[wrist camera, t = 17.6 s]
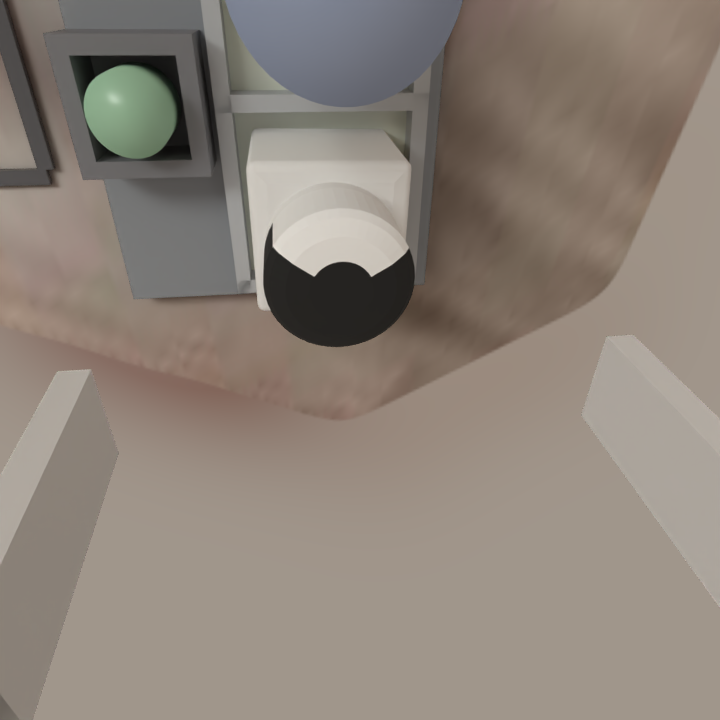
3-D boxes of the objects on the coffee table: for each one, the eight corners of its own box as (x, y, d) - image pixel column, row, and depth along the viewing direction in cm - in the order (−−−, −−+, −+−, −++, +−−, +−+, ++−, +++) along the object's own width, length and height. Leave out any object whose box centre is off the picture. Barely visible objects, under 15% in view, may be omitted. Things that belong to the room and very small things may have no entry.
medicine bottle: (379, 252, 33) (423, 363, 23) (260, 254, 32) (255, 372, 22) (385, 127, 29) (443, 198, 19) (250, 126, 28) (238, 200, 18)
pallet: (137, 290, 34) (122, 324, 30) (15, -210, 21) (-35, -248, 18) (420, 276, 36) (435, 307, 32) (457, -187, 24) (489, -217, 20)
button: (112, 143, 27) (96, 159, 24) (92, 61, 25) (73, 69, 22) (187, 142, 27) (178, 157, 25) (173, 61, 25) (163, 69, 23)
